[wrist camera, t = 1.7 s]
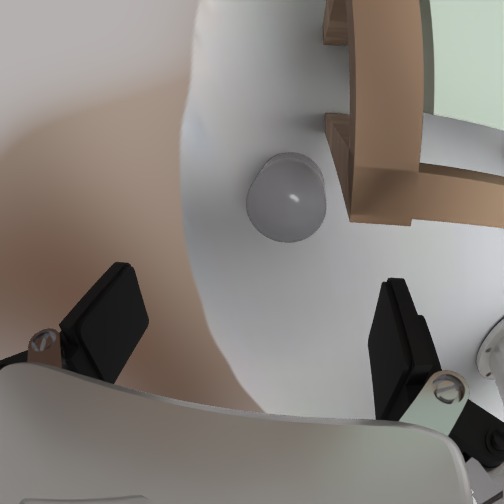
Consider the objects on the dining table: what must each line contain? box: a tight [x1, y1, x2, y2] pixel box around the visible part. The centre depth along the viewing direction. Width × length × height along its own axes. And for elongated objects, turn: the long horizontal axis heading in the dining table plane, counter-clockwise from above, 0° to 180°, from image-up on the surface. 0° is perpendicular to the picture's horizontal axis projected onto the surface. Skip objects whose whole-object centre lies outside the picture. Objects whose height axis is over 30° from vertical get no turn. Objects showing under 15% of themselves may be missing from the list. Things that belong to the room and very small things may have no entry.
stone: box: [246, 153, 326, 242], centre depth 22 cm, size 5×5×5 cm
